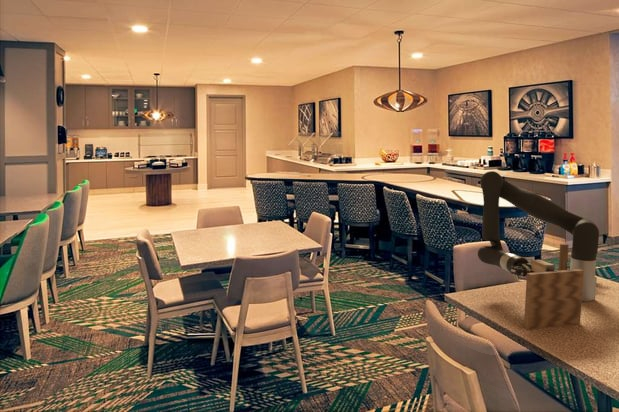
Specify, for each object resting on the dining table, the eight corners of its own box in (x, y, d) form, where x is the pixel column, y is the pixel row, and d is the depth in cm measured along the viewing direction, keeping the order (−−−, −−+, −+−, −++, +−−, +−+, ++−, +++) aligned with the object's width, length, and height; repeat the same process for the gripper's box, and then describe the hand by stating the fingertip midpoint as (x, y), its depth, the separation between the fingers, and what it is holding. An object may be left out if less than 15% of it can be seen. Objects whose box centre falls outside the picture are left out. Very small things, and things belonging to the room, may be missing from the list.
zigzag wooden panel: (566, 316, 188) (569, 265, 185) (580, 323, 181) (583, 270, 179) (515, 322, 183) (517, 269, 180) (527, 329, 176) (530, 274, 174)
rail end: (537, 287, 189) (539, 259, 187) (552, 294, 181) (554, 265, 180) (530, 288, 188) (532, 260, 187) (544, 295, 180) (546, 265, 179)
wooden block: (582, 285, 226) (585, 246, 224) (556, 281, 232) (559, 244, 229) (583, 283, 229) (586, 245, 227) (557, 280, 235) (560, 242, 232)
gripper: (499, 255, 198) (527, 267, 181) (529, 253, 201) (560, 265, 184) (497, 274, 199) (525, 287, 182) (528, 271, 202) (558, 284, 186)
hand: (542, 275), depth 184 cm, fingers closed on rail end, 3 cm apart
